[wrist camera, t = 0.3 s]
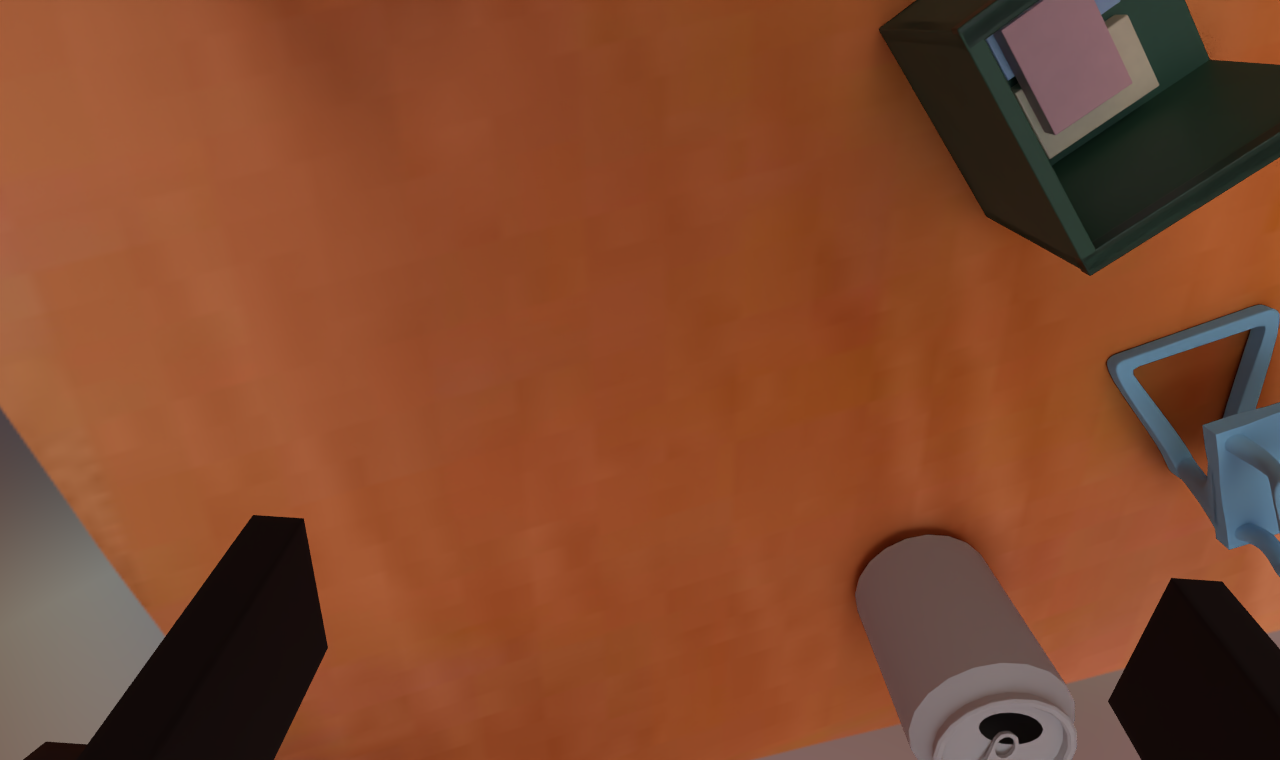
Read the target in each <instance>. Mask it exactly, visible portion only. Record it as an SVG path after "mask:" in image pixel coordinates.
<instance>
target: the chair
mask: <svg viewBox="0 0 1280 760" xmlns="http://www.w3.org/2000/svg"><path fill="white" fill-rule="evenodd" d="M1278 327H1279V313H1278V311H1277V310H1275V309H1273V308H1270V307H1267V306H1265V305H1255V306H1252V307H1249V308H1246V309H1244V310H1241V311H1238V312H1235V313H1232V314H1229V315H1226V316H1224V317H1221V318H1218V319H1215V320H1212V321H1209V322H1206V323H1204V324H1201V325H1198V326H1195V327H1192V328H1189V329H1186V330H1184V331H1181V332H1178V333H1175V334H1172V335H1169V336H1166V337H1164V338H1161V339H1158V340H1155V341H1152V342H1149V343H1146V344H1144V345H1141V346H1138V347H1135V348H1132V349H1129V350H1126V351H1124V352H1121V353H1118V354H1115V355H1113V356H1111V357H1110V358H1109V359H1108V361H1107V366H1108V370H1109V373H1110V374H1111V376H1112V378H1113V380H1114V382H1115V384H1116V385H1117V387H1118V388H1119V390H1120V392H1121V393H1122V395H1123V396H1124V398H1125V399H1126V401H1127V402H1128V404H1129V405H1130V407H1131V408H1132V409H1133V411H1134V412H1135V414H1136V415H1137V417H1138V418H1139V420H1140V421H1141V423H1142V424H1143V425H1144V427H1145V428H1146V430H1147V431H1148V433H1149V434H1150V436H1151V437H1152V439H1153V440H1154V442H1155V443H1156V445H1157V447H1158V448H1159V450H1160V452H1161V454H1162V456H1163V458H1164V460H1165V462H1166V464H1167V466H1168V468H1169V470H1170V471H1171V472H1172V473H1173V474H1174V475H1176V476H1177V477H1179V478H1180V479H1182V480H1183V482H1184V483H1185V484H1186V485H1187V487H1188V488H1189V489H1190V491H1191V492H1192V493H1193V495H1194V496H1195V498H1196V499H1197V500H1198V502H1199V503H1200V505H1201V506H1202V508H1203V509H1204V511H1205V512H1206V514H1207V516H1208V517H1209V519H1210V521H1211V522H1212V524H1213V526H1214V527H1215V532H1216V539H1217V540H1219V541H1220V542H1221V543H1222V544H1223V545H1224V546H1225V547H1227V548H1228V549H1229V550H1230V549H1233V548H1237V547H1240V546H1243V545H1246V544H1252V545H1254V546H1256V547H1258V548H1259V549H1260V550H1261V551H1262V552H1263V553H1264V554H1265V556H1266V557H1267V558H1268V560H1269V561H1270V563H1271V565H1272V566H1273V568H1274V570H1275V572H1276V573H1277V574H1278V575H1279V577H1280V542H1279V541H1278V540H1277V538H1276V537H1275V536H1274V535H1275V534H1278V533H1280V402H1279V403H1276V404H1273V405H1270V406H1267V407H1263V408H1259V409H1256V406H1257V403H1258V399H1259V396H1260V393H1261V389H1262V386H1263V383H1264V379H1265V376H1266V373H1267V369H1268V366H1269V363H1270V359H1271V356H1272V352H1273V349H1274V345H1275V341H1276V337H1277V333H1278ZM1249 329H1251V331H1250V334H1249V337H1248V340H1247V344H1246V347H1245V350H1244V353H1243V356H1242V359H1241V362H1240V365H1239V368H1238V371H1237V374H1236V377H1235V380H1234V384H1233V387H1232V390H1231V393H1230V396H1229V399H1228V403H1227V406H1226V409H1225V413H1224V416H1223V419H1219V420H1216V421H1213V422H1210V423H1207V424H1204V425H1202V426H1203V434H1204V442H1205V450H1206V455H1207V459H1208V471H1207V476H1206V475H1205V474H1204V472H1203V471H1202V470H1201V469H1200V467H1199V466H1198V465H1197V463H1196V462H1195V460H1194V459H1193V457H1192V455H1191V454H1190V452H1189V450H1188V449H1187V447H1186V445H1185V444H1184V443H1183V441H1182V440H1181V438H1180V437H1179V435H1178V434H1177V432H1176V431H1175V430H1174V428H1173V427H1172V426H1171V424H1170V423H1169V422H1168V420H1167V419H1166V418H1165V416H1164V415H1163V414H1162V412H1161V411H1160V410H1159V408H1158V407H1157V406H1156V404H1155V403H1154V402H1153V400H1152V399H1151V398H1150V396H1149V395H1148V394H1147V393H1146V391H1145V390H1144V389H1143V387H1142V386H1141V385H1140V383H1139V382H1138V380H1137V379H1136V378H1135V376H1134V374H1133V370H1134V369H1136V368H1137V367H1139V366H1142V365H1145V364H1148V363H1151V362H1154V361H1157V360H1160V359H1163V358H1166V357H1169V356H1172V355H1175V354H1178V353H1181V352H1184V351H1187V350H1190V349H1193V348H1195V347H1198V346H1201V345H1204V344H1207V343H1210V342H1213V341H1216V340H1219V339H1222V338H1225V337H1228V336H1231V335H1234V334H1237V333H1240V332H1243V331H1246V330H1249Z"/></svg>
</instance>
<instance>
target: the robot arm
mask: <svg viewBox="0 0 1280 760" xmlns="http://www.w3.org/2000/svg"><path fill="white" fill-rule="evenodd" d="M327 648H328V646H327V641H326V635H325V630H324V625H323V619H322V614H321V609H320V603H319V598H318V593H317V587H316V582H315V577H314V571H313V566H312V560H311V555H310V550H309V544H308V539H307V534H306V528H305V523H304V519H302V518H287V517H273V516H258V515H253V516H252V517H251V519H250V520H249V522H248V523H247V524H246V526H245V527H244V528H243V530H242V531H241V533H240V534H239V535H238V537H237V538H236V540H235V541H234V542H233V544H232V545H231V546H230V548H229V549H228V551H227V552H226V553H225V555H224V556H223V558H222V559H221V560H220V562H219V563H218V564H217V566H216V567H215V569H214V570H213V571H212V573H211V574H210V576H209V577H208V578H207V580H206V581H205V582H204V584H203V585H202V587H201V588H200V589H199V591H198V592H197V594H196V595H195V596H194V598H193V599H192V601H191V602H190V603H189V605H188V606H187V607H186V609H185V610H184V612H183V613H182V614H181V616H180V617H179V619H178V620H177V621H176V623H175V624H174V625H173V627H172V628H171V630H170V631H169V632H168V634H167V635H166V637H165V638H164V640H163V641H162V642H161V643H160V645H159V646H158V648H157V649H156V650H155V652H154V653H153V655H152V656H151V657H150V659H149V660H148V661H147V663H146V664H145V666H144V667H143V668H142V670H141V671H140V673H139V674H138V675H137V677H136V678H135V679H134V681H133V682H132V684H131V685H130V686H129V688H128V689H127V691H126V692H125V693H124V695H123V696H122V698H121V699H120V700H119V702H118V703H117V704H116V706H115V707H114V709H113V710H112V711H111V713H110V714H109V716H108V717H107V718H106V720H105V721H104V723H103V724H102V725H101V727H100V728H99V729H98V731H97V732H96V734H95V735H94V736H93V738H92V739H91V741H90V742H89V743H88V745H86V744H72V743H57V742H45V743H44V744H42V745H41V746H40V747H39V748H37V749H36V750H35V751H34V752H32V753H31V754H30V755H29V756H27V757H26V758H25V759H23V760H274V758H275V756H276V754H277V752H278V750H279V748H280V746H281V744H282V742H283V740H284V737H285V735H286V733H287V731H288V729H289V727H290V725H291V723H292V721H293V719H294V717H295V715H296V713H297V711H298V708H299V706H300V704H301V702H302V700H303V698H304V696H305V694H306V692H307V690H308V688H309V686H310V684H311V682H312V679H313V677H314V675H315V673H316V671H317V669H318V667H319V665H320V663H321V661H322V659H323V657H324V655H325V652H326V650H327ZM1108 702H1109V704H1110V706H1111V707H1112V709H1113V711H1114V713H1115V714H1116V716H1117V717H1118V719H1119V721H1120V723H1121V725H1122V726H1123V728H1124V730H1125V731H1126V733H1127V735H1128V737H1129V738H1130V740H1131V742H1132V744H1133V745H1134V747H1135V749H1136V751H1137V753H1138V754H1139V756H1140V758H1141V760H1280V649H1279V648H1278V647H1277V645H1276V644H1275V643H1274V642H1273V641H1272V640H1271V638H1270V637H1269V636H1268V635H1267V634H1266V632H1265V631H1264V630H1263V629H1262V628H1261V627H1260V625H1259V624H1258V623H1257V622H1256V621H1255V620H1254V618H1253V617H1252V616H1251V615H1250V614H1249V613H1248V611H1247V610H1246V609H1245V608H1244V607H1243V606H1242V604H1241V603H1240V602H1239V601H1238V600H1237V599H1236V597H1235V596H1234V595H1233V594H1232V593H1231V592H1230V590H1229V589H1228V588H1227V587H1226V586H1225V585H1224V583H1223V582H1221V581H1206V580H1191V579H1177V578H1171V580H1170V582H1169V584H1168V586H1167V588H1166V590H1165V591H1164V593H1163V595H1162V597H1161V599H1160V601H1159V603H1158V605H1157V607H1156V609H1155V611H1154V613H1153V615H1152V617H1151V619H1150V621H1149V623H1148V625H1147V627H1146V628H1145V630H1144V632H1143V634H1142V636H1141V638H1140V640H1139V642H1138V644H1137V646H1136V648H1135V650H1134V652H1133V654H1132V656H1131V658H1130V660H1129V662H1128V664H1127V665H1126V667H1125V669H1124V671H1123V674H1122V675H1121V677H1120V679H1119V681H1118V683H1117V685H1116V687H1115V689H1114V691H1113V693H1112V695H1111V697H1110V699H1109V701H1108Z"/></svg>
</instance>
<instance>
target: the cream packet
mask: <svg viewBox="0 0 1280 760" xmlns="http://www.w3.org/2000/svg"><path fill="white" fill-rule="evenodd" d="M1105 24H1106V26H1107V28H1108V31H1109V33H1110V35H1111V37H1112V39H1113V41H1114V43H1115V46H1116V48H1117V50H1118V52H1119V54H1120V56H1121V59H1122V61H1123V63H1124V65H1125V67H1126V69H1127V71H1128V74H1129V76H1130V78H1131V80H1132V84H1131V85H1129V86H1128V87H1126V88H1125V89H1123V90H1122V91H1120V92H1119V93H1117V94H1116V95H1114V96H1113V97H1112V98H1110V99H1109V100H1107V101H1106V102H1104V103H1103V104H1101V105H1100V106H1098V107H1097V108H1095V109H1094V110H1092V111H1091V112H1089V113H1088V114H1087V115H1085V116H1084V117H1082V118H1081V119H1079V120H1078V121H1076V122H1075V123H1073V124H1072V125H1070V126H1069V127H1067V128H1066V129H1064V130H1063V131H1062V132H1060V133H1059V134H1057V135H1052V134H1049V133H1045V132H1044V130H1043V129H1042V127H1041V125H1040V123H1039V121H1038V119H1037V117H1036V115H1035V113H1034V111H1033V109H1032V108H1031V106H1030V104H1029V102H1028V100H1027V98H1026V96H1025V94H1024V92H1023V90H1022V88H1021V86H1020V85H1019V83H1017V84H1016V85H1014V86H1013V87H1011V90H1012V92H1013V94H1014V95H1015V97H1016V99H1017V101H1018V103H1019V105H1020V107H1021V109H1022V111H1023V113H1024V114H1025V116H1026V118H1027V120H1028V122H1029V124H1030V126H1031V128H1032V130H1033V131H1034V133H1035V135H1036V137H1037V139H1038V141H1039V143H1040V145H1041V147H1042V149H1043V150H1044V152H1045V154H1046V156H1047V158H1048V159H1051V158H1053V157H1054V156H1056V155H1057V154H1059V153H1060V152H1062V151H1063V150H1065V149H1066V148H1068V147H1069V146H1071V145H1072V144H1073V143H1075V142H1076V141H1078V140H1079V139H1081V138H1082V137H1084V136H1085V135H1087V134H1088V133H1090V132H1091V131H1093V130H1094V129H1096V128H1097V127H1099V126H1100V125H1102V124H1103V123H1105V122H1106V121H1108V120H1109V119H1111V118H1112V117H1114V116H1115V115H1117V114H1118V113H1120V112H1121V111H1122V110H1124V109H1125V108H1127V107H1128V106H1130V105H1131V104H1133V103H1134V102H1136V101H1137V100H1139V99H1140V98H1142V97H1143V96H1145V95H1146V94H1148V93H1149V92H1151V91H1152V90H1154V89H1155V88H1157V87H1158V86H1159V83H1158V81H1157V78H1156V76H1155V74H1154V72H1153V70H1152V67H1151V65H1150V63H1149V61H1148V59H1147V56H1146V54H1145V52H1144V50H1143V48H1142V45H1141V43H1140V41H1139V39H1138V36H1137V34H1136V32H1135V30H1134V28H1133V25H1132V23H1131V21H1130V19H1129V17H1128V15H1113V16H1112V17H1111V18H1109V19H1108V20H1106V21H1105Z"/></svg>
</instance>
